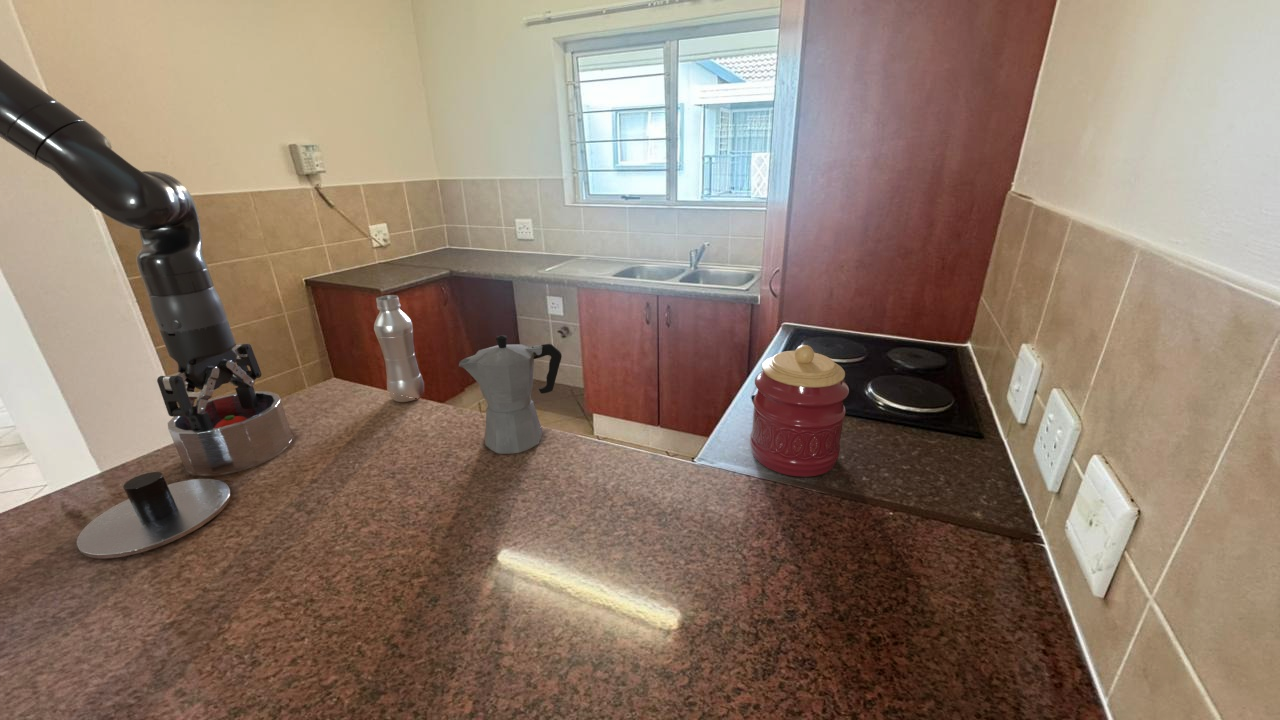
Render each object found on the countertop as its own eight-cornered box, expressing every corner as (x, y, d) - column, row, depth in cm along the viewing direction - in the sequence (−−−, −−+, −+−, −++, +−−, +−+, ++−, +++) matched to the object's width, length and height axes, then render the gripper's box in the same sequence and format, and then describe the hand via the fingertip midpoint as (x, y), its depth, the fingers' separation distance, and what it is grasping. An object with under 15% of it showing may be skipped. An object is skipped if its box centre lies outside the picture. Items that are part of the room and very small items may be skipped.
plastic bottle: (415, 388, 101) (395, 291, 93) (433, 397, 97) (414, 296, 89) (383, 399, 96) (359, 298, 88) (400, 409, 92) (377, 304, 84)
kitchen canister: (845, 483, 69) (865, 366, 63) (750, 474, 72) (759, 360, 65) (830, 435, 81) (845, 332, 75) (748, 429, 83) (756, 329, 77)
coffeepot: (475, 464, 75) (456, 352, 68) (469, 434, 83) (453, 332, 76) (574, 442, 80) (566, 337, 74) (560, 416, 89) (552, 319, 82)
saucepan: (161, 477, 73) (141, 432, 71) (234, 430, 86) (219, 390, 83) (251, 478, 73) (234, 433, 70) (311, 430, 85) (299, 391, 83)
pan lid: (43, 561, 58) (17, 518, 56) (159, 485, 72) (142, 448, 69) (164, 563, 57) (143, 520, 55) (258, 486, 71) (244, 448, 69)
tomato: (209, 459, 77) (195, 425, 75) (237, 440, 82) (225, 408, 80) (244, 459, 77) (232, 425, 74) (270, 440, 82) (260, 408, 80)
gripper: (209, 307, 78) (241, 400, 84) (117, 337, 65) (164, 445, 71) (256, 307, 78) (285, 400, 84) (173, 338, 64) (215, 446, 71)
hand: (229, 421), depth 77 cm, fingers open, 8 cm apart
